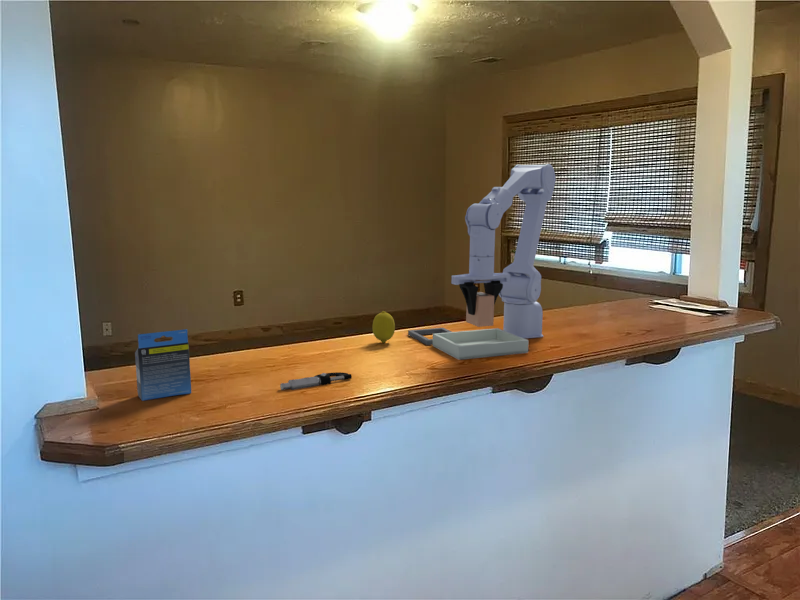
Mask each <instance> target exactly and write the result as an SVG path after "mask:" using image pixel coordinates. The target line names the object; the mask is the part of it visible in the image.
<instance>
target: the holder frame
mask: <svg viewBox="0 0 800 600" xmlns="http://www.w3.org/2000/svg"><path fill="white" fill-rule="evenodd" d="M447 332H453V331H451V330H450V329H447V328H445V327H434V328H423V329H412V330H411V329H409V330H407V335H408V336H409V337H411V338H413V339H415V340H417V341H419V342H420V343H422V344H424V345H426V346H433V338H430V339H429V338H428V337H426V336H424V335H433V334H436V333H447Z"/></svg>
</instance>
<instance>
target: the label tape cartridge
mask: <svg viewBox="0 0 800 600" xmlns="http://www.w3.org/2000/svg"><path fill="white" fill-rule="evenodd" d="M188 333H189V331H188V328H185V329H183V328H182V329H176V330H175V329H174V330H163V331H156V332H147V333H146V332H145V333H137V349H136V350H135V352H134V357H135V358H134V359H135V360H134V361H135V370H136V371H135V372H136V385H137V388H136V389H137V396H138V398H139V400H141V402H143V401H144V402H145V401H150V400H155V399H156V400H157V399H162V398H168V397H172V396H173V397H175V396H180V395H189V394H192V384H191V383H192V380H191V379H192V377H191V375H192V374H191V364H190V360H191V359H190V346H189V337H188ZM162 337H165V338H171V339H170V340H167V339H166V340H162V341H161V340H160V341H155V340H156V339H161V338H162Z"/></svg>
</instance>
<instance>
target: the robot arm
mask: <svg viewBox="0 0 800 600" xmlns="http://www.w3.org/2000/svg"><path fill="white" fill-rule="evenodd" d="M555 173H556V172H555V169H554V166H553V165H552V164H550V163H547V164H519V163H518V164H516V165H514V167H512V168H511V170H510V177H509V178H508V180H507V181H505V182H504V184H503V186H493V187H492V188H491V191H490V192H488V194H487V195H486V196H484V197H483V198H482V199H481V200H480V201H479V203H473V204H471V205H470V206H469V207H468V208H467V210H466V214H465V216H464V220H465V221H464V222H465V224H466V227H467V235H468V236H469V262H468V263H469V264H468V265H469V266H468V270H469V271H468V273H463V274H457V275H456V274H455V275H451V282H450V283H451V284H452V285H455V286H459V289H460V290H461V293H462V294H463V298H464V300H465V303H466V307H467V308H468V314H471V315H475V310H476V296H477V292H478V291H479V287H478V286H476V284H483V288H484V293H486V294H490V295H493V296H494V306H495V305H496V301H497V299H498V297H499V298H501V302H504V305H503V328H502V330H504V331H506V332H509V333H511V334H514V335H516V336H519V337H521V338H524V339H536V338H544V334H543V307H542V305H541V303H540V302H538V299H539V297H540V296H541V292H542V274H541V273H540V271H538V269H536V267H535V266H534V265H535V260H536V255H537V250H538V247H539V246H538V245H539V241H540V236H541V231H542V227H543V222H544V218H545V213H546V208H547V204H548V202H549V201H551V200H552V198H553V195H554V190H555V184H556V179H557V178H556V174H555ZM516 195H517V196H518V198H519V200H520V201H523V202H524V203H525V208H524V211H523V212H524V213H523V217H522V221H521V227H520V232H519V234H518V235H519V236H518V239H517V244H516V249H515V252H514V253H515V255H514V258H513V262H512V263H510V264H508V265H507V266H506V267H504V268H503V270H502V272H495V248H496V247H495V244H496V229H497V228H499V226H500V223H501V220H502V218H503V215H504V213H505V212H506V211H507V210H508V209H510V208H511V206H512V205H513V202H514V201H513V199H514V197H516Z"/></svg>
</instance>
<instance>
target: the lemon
mask: <svg viewBox="0 0 800 600" xmlns="http://www.w3.org/2000/svg"><path fill="white" fill-rule="evenodd" d="M371 327H372V334H373V336H374V337H375V338H376V339H377V340H379V341H380V342H381V343H382V344H385V343H386V342H387V341H388V340H390V339H392V338H393V336H394V334H395V332H396V331H395V330H396V324H395V320H394V317H393V316H392V315H391V314H390V313H388V312H387V311H386V310H385V311H384V310H382V311H381V312H380V313H378V314H376V315H375V316H374V318H373V320H372V326H371Z"/></svg>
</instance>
